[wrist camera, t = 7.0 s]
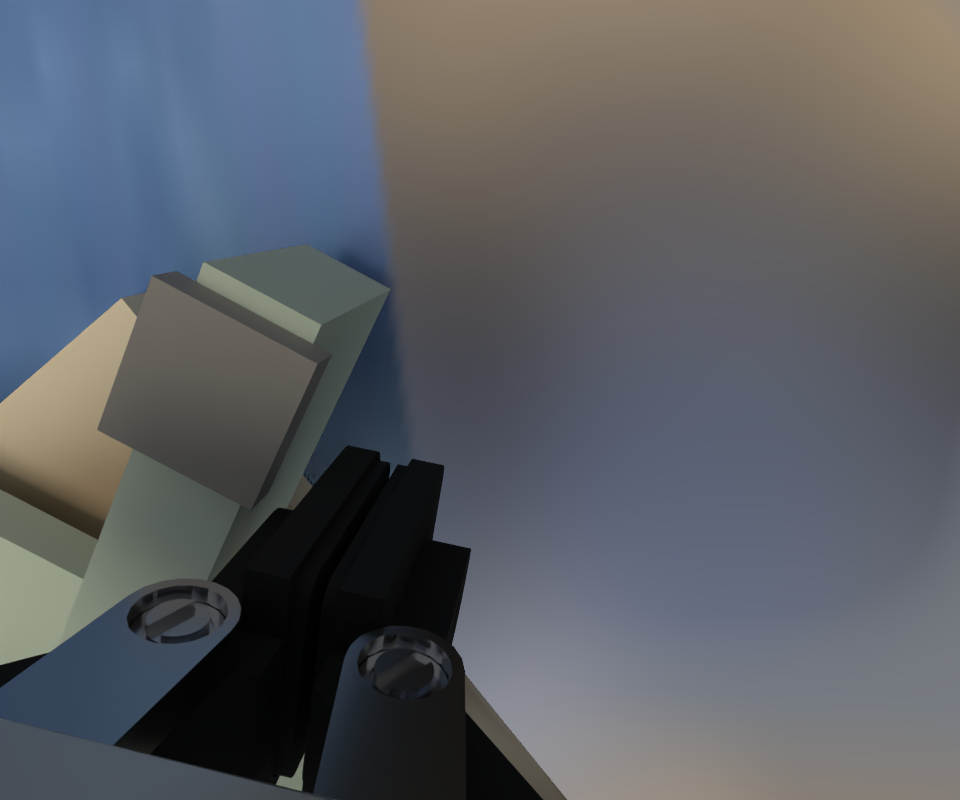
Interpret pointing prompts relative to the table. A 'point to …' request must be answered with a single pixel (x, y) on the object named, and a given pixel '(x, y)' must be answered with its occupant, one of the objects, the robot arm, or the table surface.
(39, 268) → the table surface
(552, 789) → the stand
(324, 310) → the green piece
